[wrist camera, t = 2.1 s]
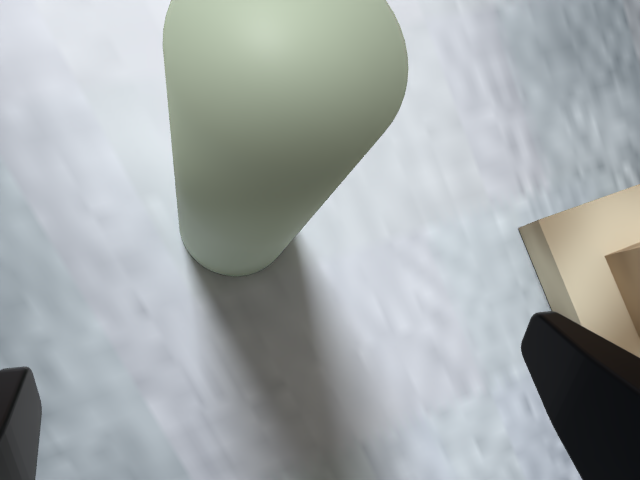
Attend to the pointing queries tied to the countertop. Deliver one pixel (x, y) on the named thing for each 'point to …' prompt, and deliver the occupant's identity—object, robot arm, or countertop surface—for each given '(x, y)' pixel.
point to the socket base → (593, 265)
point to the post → (272, 115)
